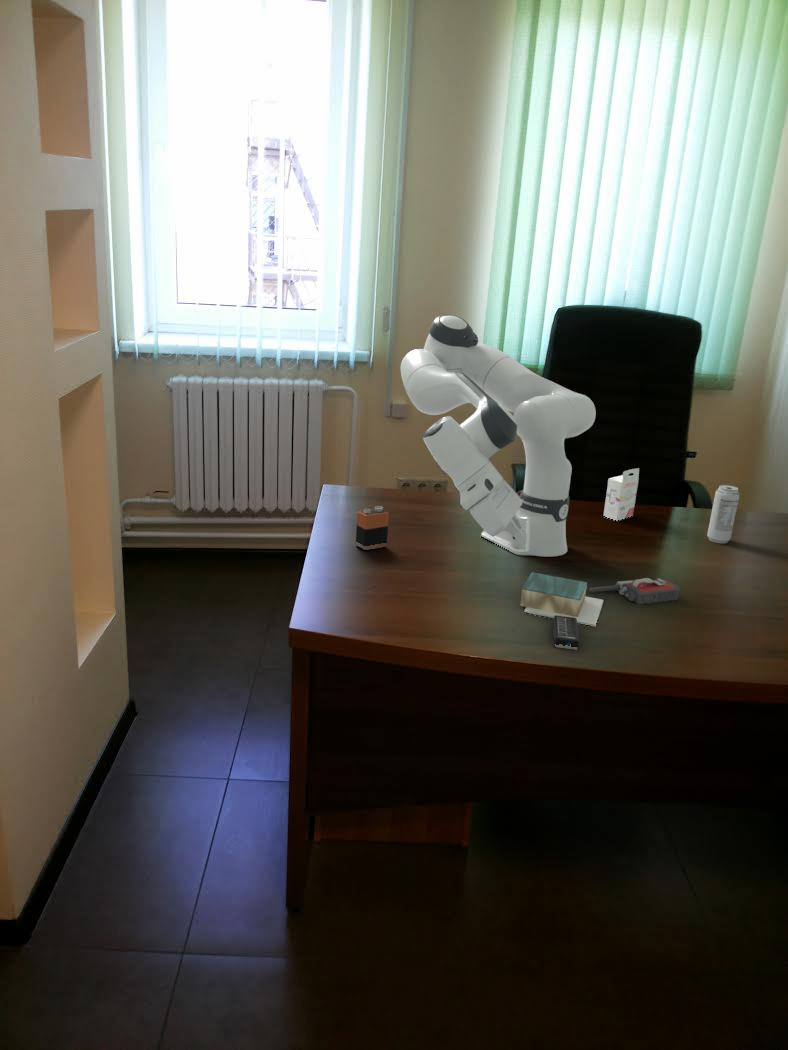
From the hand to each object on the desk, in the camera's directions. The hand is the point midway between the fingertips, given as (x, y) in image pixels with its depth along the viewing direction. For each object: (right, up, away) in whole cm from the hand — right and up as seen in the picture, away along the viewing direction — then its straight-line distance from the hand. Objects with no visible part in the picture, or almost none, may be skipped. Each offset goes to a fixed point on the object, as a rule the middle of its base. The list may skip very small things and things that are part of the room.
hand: (522, 537), depth 173 cm
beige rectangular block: (+1, -11, +4) cm, 12 cm away
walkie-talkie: (+27, -14, +11) cm, 32 cm away
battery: (-32, -3, +30) cm, 44 cm away
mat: (+9, -15, +2) cm, 18 cm away
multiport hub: (+6, -20, -11) cm, 24 cm away
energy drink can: (+61, -2, +52) cm, 81 cm away
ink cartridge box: (+38, +5, +67) cm, 78 cm away
